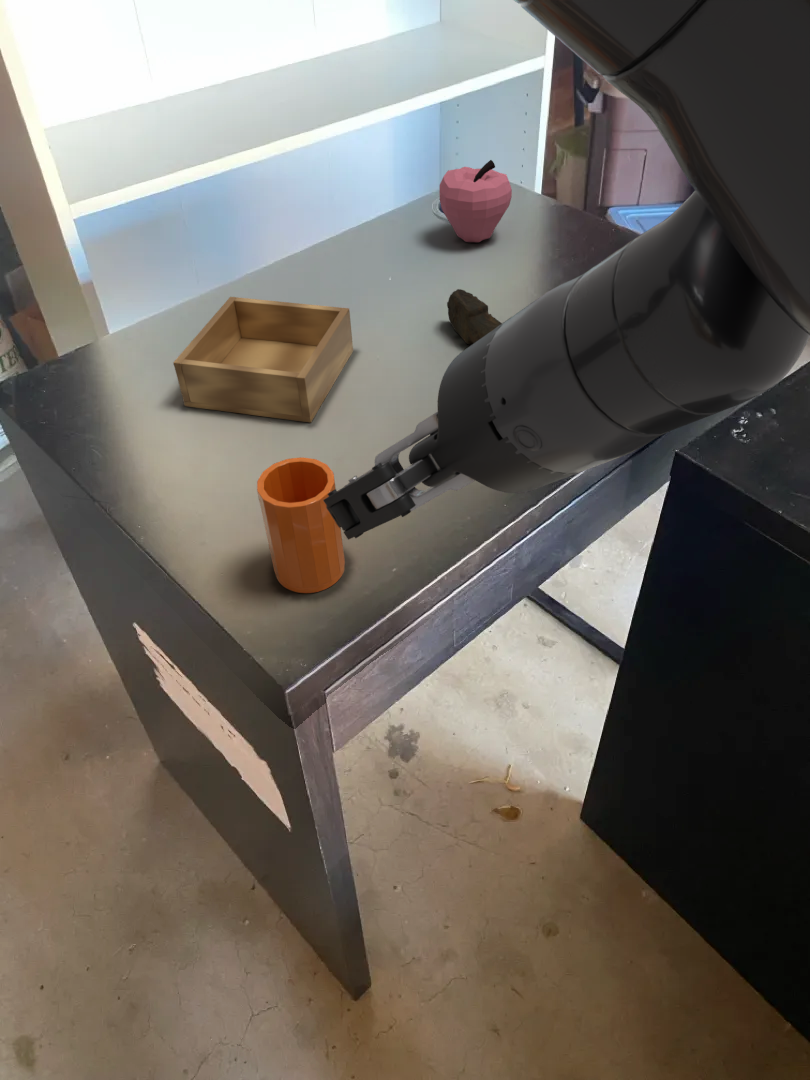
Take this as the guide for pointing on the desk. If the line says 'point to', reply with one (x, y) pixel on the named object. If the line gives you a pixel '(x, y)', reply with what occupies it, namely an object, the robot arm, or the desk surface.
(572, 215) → the desk surface
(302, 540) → the orange cup
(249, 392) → the wooden tray
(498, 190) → the apple
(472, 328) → the dark brown long bar
